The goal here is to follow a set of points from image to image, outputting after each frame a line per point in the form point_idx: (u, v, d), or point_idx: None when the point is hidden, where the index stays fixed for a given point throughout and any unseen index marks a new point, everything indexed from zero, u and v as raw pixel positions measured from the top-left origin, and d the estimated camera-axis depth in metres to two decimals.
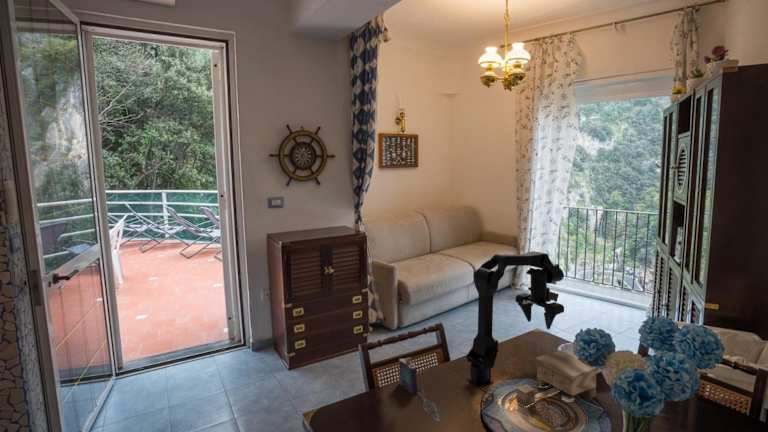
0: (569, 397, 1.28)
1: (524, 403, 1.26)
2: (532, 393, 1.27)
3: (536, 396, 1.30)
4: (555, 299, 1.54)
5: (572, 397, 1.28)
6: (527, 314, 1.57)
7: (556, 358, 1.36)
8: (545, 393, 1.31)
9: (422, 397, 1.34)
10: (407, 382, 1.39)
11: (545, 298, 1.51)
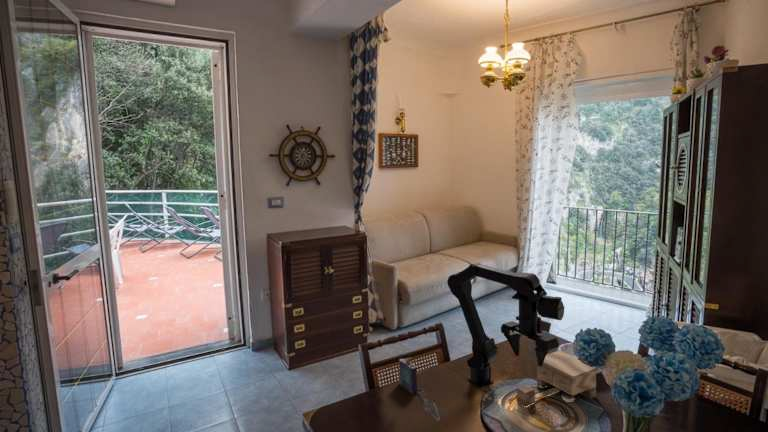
0: (569, 397, 1.28)
1: (524, 403, 1.26)
2: (532, 393, 1.27)
3: (536, 396, 1.30)
4: (547, 330, 1.30)
5: (572, 397, 1.28)
6: (515, 347, 1.34)
7: (556, 358, 1.36)
8: (545, 393, 1.31)
9: (423, 397, 1.34)
10: (407, 382, 1.39)
11: (536, 329, 1.27)
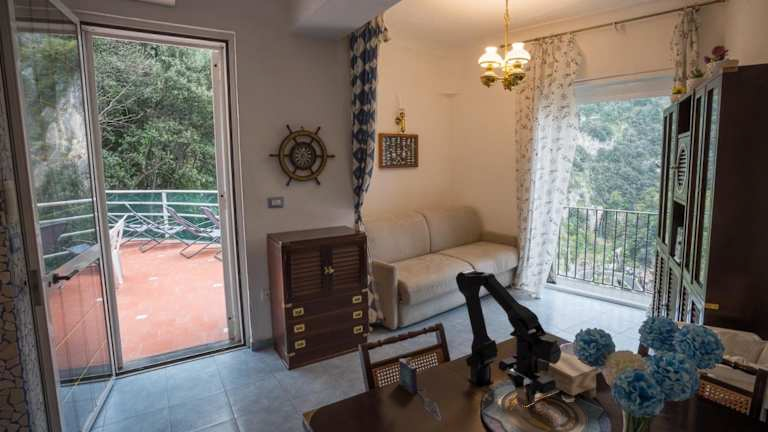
0: (569, 397, 1.28)
1: (524, 403, 1.26)
2: None
3: (536, 396, 1.30)
4: (546, 369, 1.27)
5: (572, 397, 1.28)
6: None
7: None
8: (545, 393, 1.31)
9: (424, 397, 1.34)
10: (407, 382, 1.39)
11: (533, 369, 1.25)
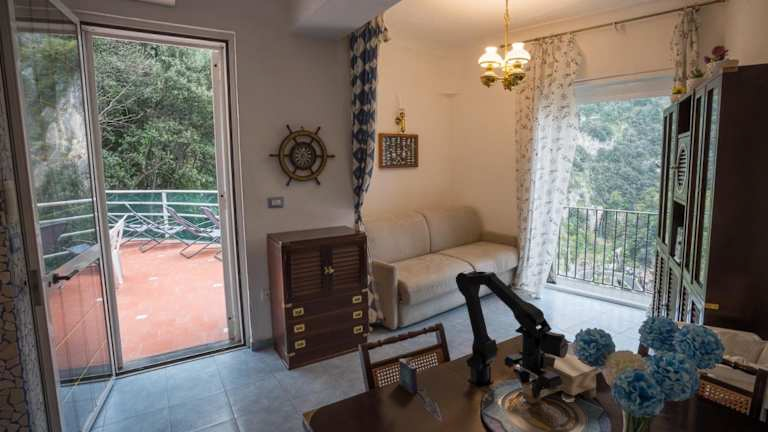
0: (569, 397, 1.28)
1: (530, 398, 1.27)
2: None
3: (542, 392, 1.31)
4: (551, 365, 1.28)
5: (572, 397, 1.28)
6: None
7: (556, 358, 1.36)
8: (551, 389, 1.32)
9: (424, 397, 1.34)
10: (407, 382, 1.39)
11: (539, 365, 1.26)
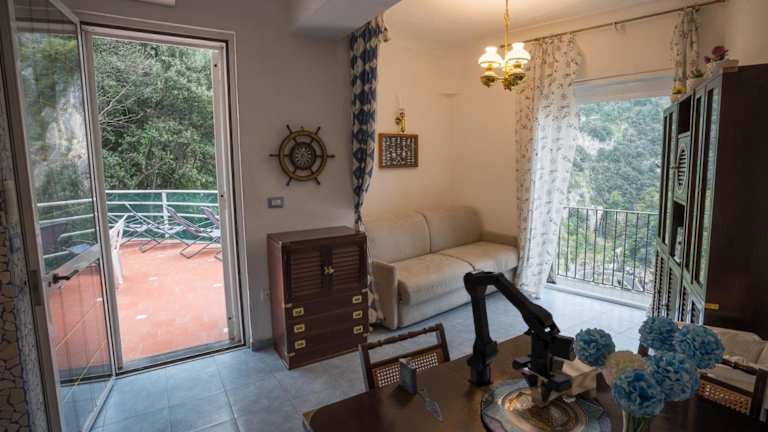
0: (570, 397, 1.28)
1: (539, 402, 1.24)
2: None
3: (550, 395, 1.29)
4: (560, 368, 1.26)
5: (573, 397, 1.28)
6: None
7: None
8: None
9: (424, 396, 1.34)
10: (407, 382, 1.39)
11: (548, 368, 1.23)
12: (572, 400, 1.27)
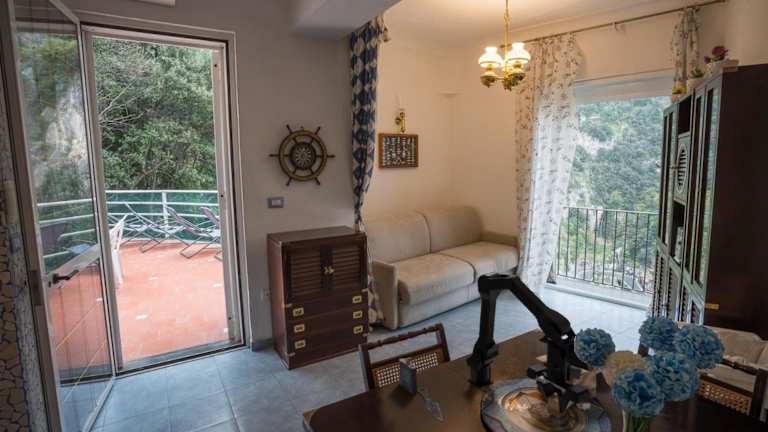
0: (584, 404, 1.24)
1: (557, 413, 1.19)
2: None
3: None
4: (578, 376, 1.21)
5: (587, 404, 1.24)
6: None
7: None
8: None
9: (425, 396, 1.34)
10: (407, 382, 1.39)
11: (565, 377, 1.18)
12: (587, 408, 1.23)
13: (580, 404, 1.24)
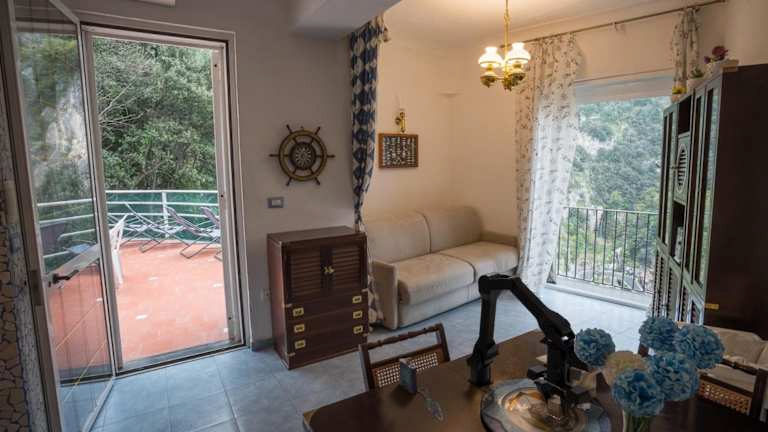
0: (584, 404, 1.24)
1: (557, 415, 1.19)
2: None
3: None
4: (578, 378, 1.20)
5: (587, 404, 1.24)
6: (546, 397, 1.23)
7: None
8: None
9: (426, 396, 1.34)
10: (407, 382, 1.39)
11: (566, 378, 1.18)
12: (587, 408, 1.23)
13: (580, 404, 1.24)
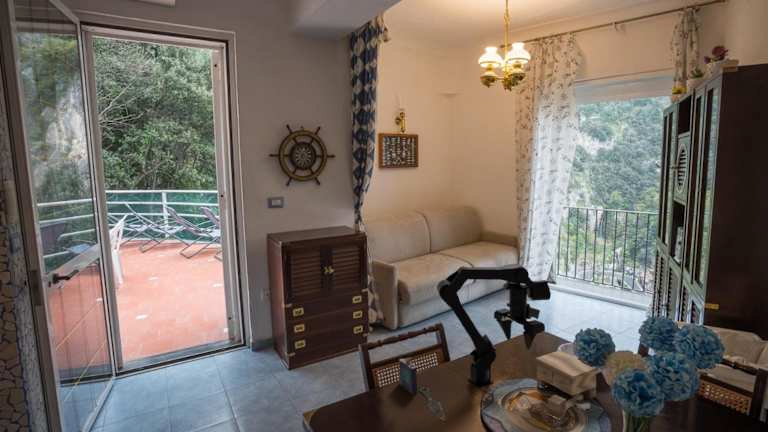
0: (584, 404, 1.24)
1: (557, 415, 1.19)
2: (564, 403, 1.20)
3: None
4: (536, 316, 1.41)
5: (587, 404, 1.24)
6: (506, 332, 1.45)
7: (556, 358, 1.36)
8: (571, 401, 1.26)
9: (427, 396, 1.34)
10: (407, 382, 1.39)
11: (525, 315, 1.38)
12: (587, 408, 1.23)
13: (580, 404, 1.24)
